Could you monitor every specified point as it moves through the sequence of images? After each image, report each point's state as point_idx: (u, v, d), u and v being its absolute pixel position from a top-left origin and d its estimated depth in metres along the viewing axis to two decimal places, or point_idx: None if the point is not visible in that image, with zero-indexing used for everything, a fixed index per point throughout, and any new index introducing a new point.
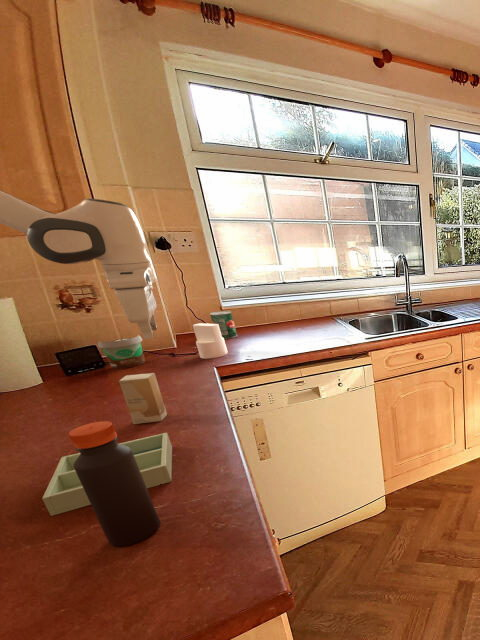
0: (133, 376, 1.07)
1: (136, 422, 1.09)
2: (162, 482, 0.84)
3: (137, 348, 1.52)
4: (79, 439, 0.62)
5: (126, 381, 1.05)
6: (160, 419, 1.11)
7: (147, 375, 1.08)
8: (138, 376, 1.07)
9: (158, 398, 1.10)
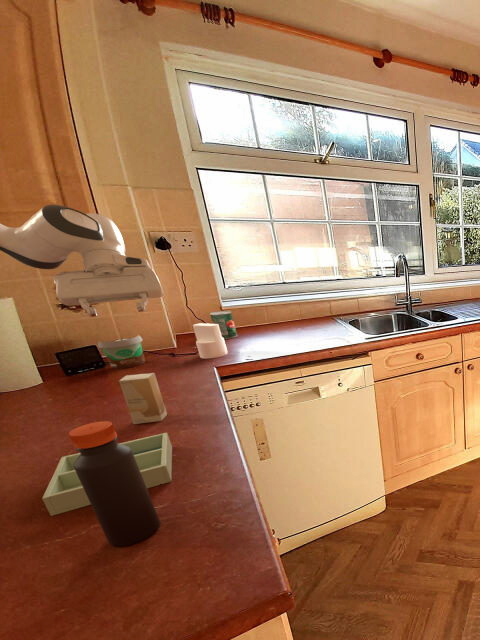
0: (133, 376, 1.07)
1: (136, 422, 1.09)
2: (162, 482, 0.84)
3: (137, 348, 1.52)
4: (79, 439, 0.62)
5: (126, 381, 1.05)
6: (160, 419, 1.11)
7: (147, 375, 1.08)
8: (138, 376, 1.07)
9: (158, 398, 1.10)
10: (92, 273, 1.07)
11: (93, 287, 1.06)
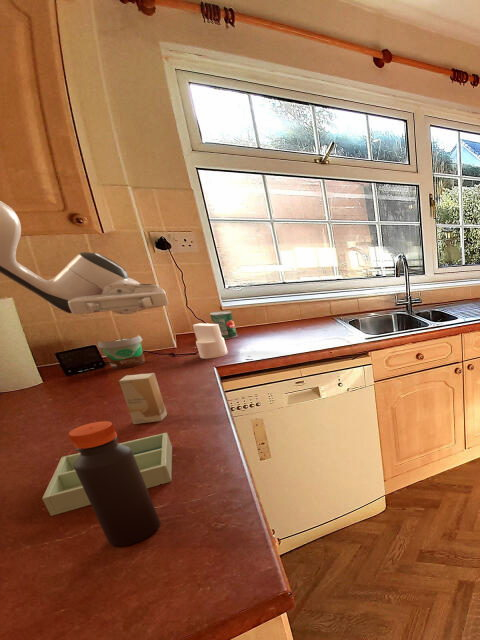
0: (133, 376, 1.07)
1: (136, 422, 1.09)
2: (162, 482, 0.84)
3: (137, 348, 1.52)
4: (79, 439, 0.62)
5: (126, 381, 1.05)
6: (160, 419, 1.11)
7: (147, 375, 1.08)
8: (138, 376, 1.07)
9: (158, 398, 1.10)
10: (107, 294, 1.16)
11: (103, 296, 1.13)
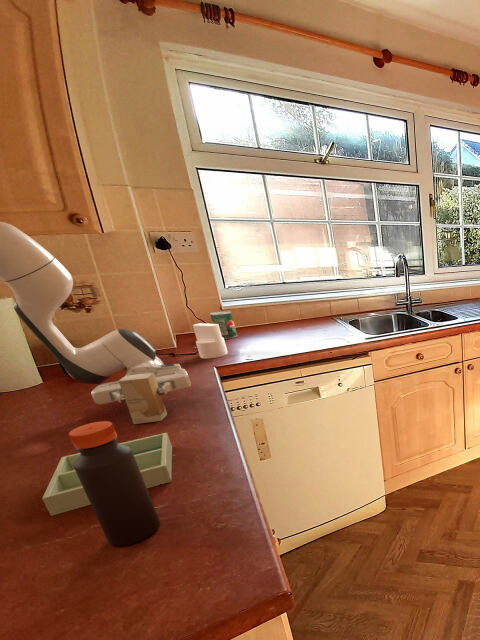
0: (133, 376, 1.07)
1: (136, 422, 1.09)
2: (162, 482, 0.84)
3: None
4: (79, 439, 0.62)
5: (126, 381, 1.05)
6: (160, 419, 1.11)
7: (147, 375, 1.08)
8: (138, 376, 1.07)
9: (157, 397, 1.10)
10: None
11: None
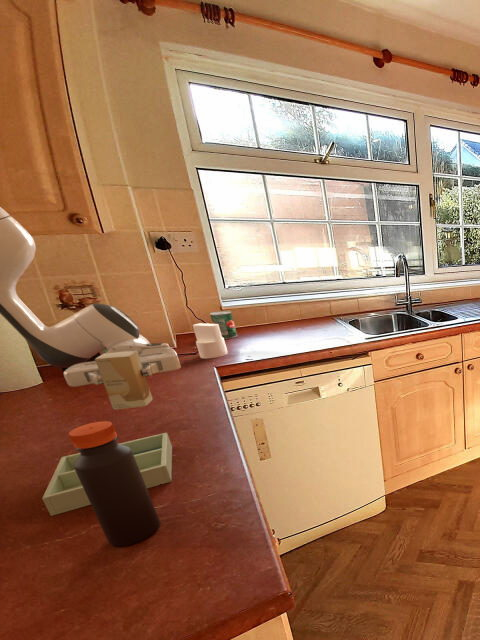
0: (112, 354, 0.93)
1: (116, 407, 0.94)
2: (162, 482, 0.84)
3: None
4: (79, 439, 0.62)
5: (103, 360, 0.90)
6: (144, 404, 0.96)
7: (128, 353, 0.93)
8: (118, 354, 0.93)
9: (141, 379, 0.96)
10: None
11: None
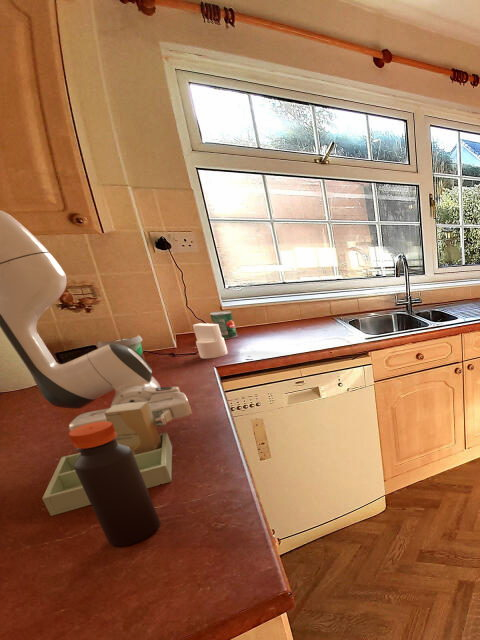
0: (122, 406, 0.88)
1: None
2: (162, 482, 0.84)
3: (137, 348, 1.52)
4: (79, 439, 0.62)
5: (113, 413, 0.85)
6: None
7: (139, 405, 0.88)
8: (128, 406, 0.88)
9: (152, 431, 0.91)
10: None
11: None
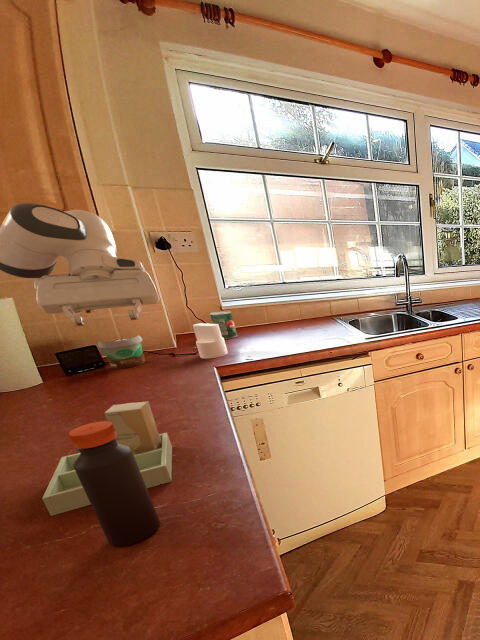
0: (122, 406, 0.88)
1: None
2: (162, 482, 0.84)
3: (137, 348, 1.52)
4: (79, 439, 0.62)
5: (113, 413, 0.85)
6: None
7: (139, 405, 0.88)
8: (128, 406, 0.88)
9: (152, 431, 0.91)
10: (78, 277, 0.94)
11: (79, 292, 0.93)
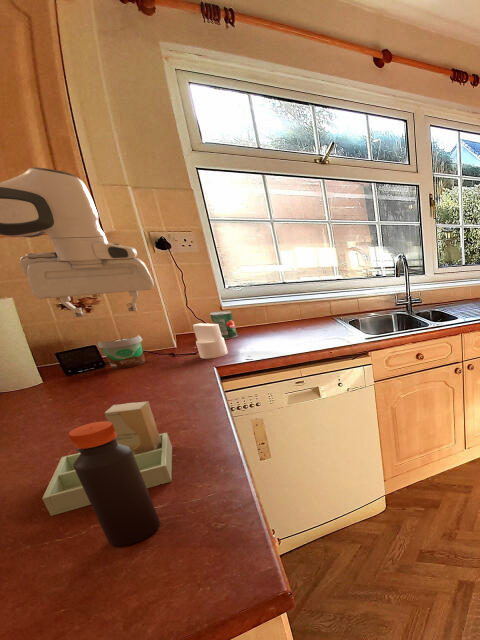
0: (122, 406, 0.88)
1: None
2: (162, 482, 0.84)
3: (137, 348, 1.52)
4: (79, 439, 0.62)
5: (113, 413, 0.85)
6: None
7: (139, 405, 0.88)
8: (128, 406, 0.88)
9: (152, 431, 0.91)
10: (68, 264, 0.91)
11: (74, 285, 0.92)
